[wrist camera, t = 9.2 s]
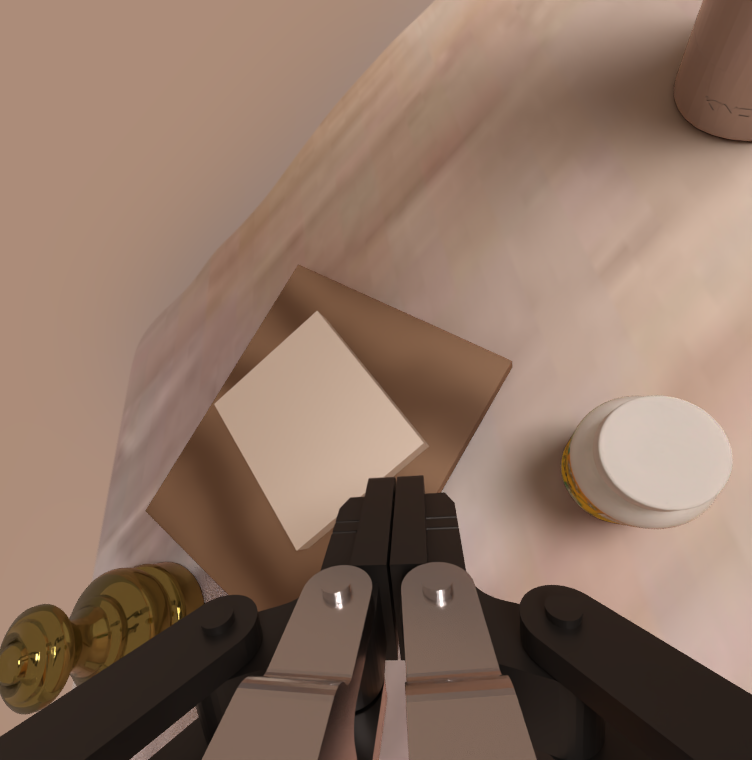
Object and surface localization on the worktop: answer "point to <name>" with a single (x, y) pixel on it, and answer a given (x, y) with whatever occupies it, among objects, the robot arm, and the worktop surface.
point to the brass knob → (91, 631)
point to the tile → (316, 429)
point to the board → (236, 480)
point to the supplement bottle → (646, 462)
